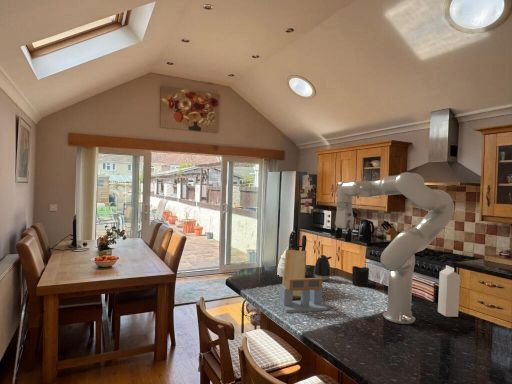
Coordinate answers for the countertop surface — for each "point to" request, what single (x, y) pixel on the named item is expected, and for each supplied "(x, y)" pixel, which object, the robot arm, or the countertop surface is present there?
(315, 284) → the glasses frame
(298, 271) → the knife block
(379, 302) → the countertop surface
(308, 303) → the gray blocky stand
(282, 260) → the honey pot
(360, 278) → the pen holder
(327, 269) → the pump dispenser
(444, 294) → the milk
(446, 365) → the countertop surface
